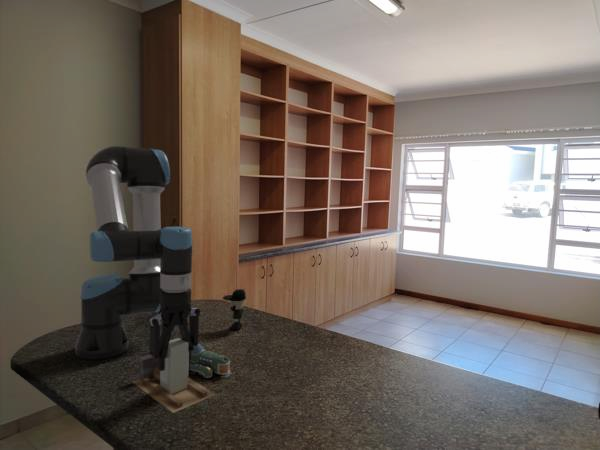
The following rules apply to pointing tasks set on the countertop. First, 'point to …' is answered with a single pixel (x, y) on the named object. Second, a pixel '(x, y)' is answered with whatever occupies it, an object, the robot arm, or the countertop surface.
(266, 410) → the countertop surface
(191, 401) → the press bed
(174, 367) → the block
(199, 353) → the hoverbike
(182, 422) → the countertop surface
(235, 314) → the toy
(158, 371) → the walnut
